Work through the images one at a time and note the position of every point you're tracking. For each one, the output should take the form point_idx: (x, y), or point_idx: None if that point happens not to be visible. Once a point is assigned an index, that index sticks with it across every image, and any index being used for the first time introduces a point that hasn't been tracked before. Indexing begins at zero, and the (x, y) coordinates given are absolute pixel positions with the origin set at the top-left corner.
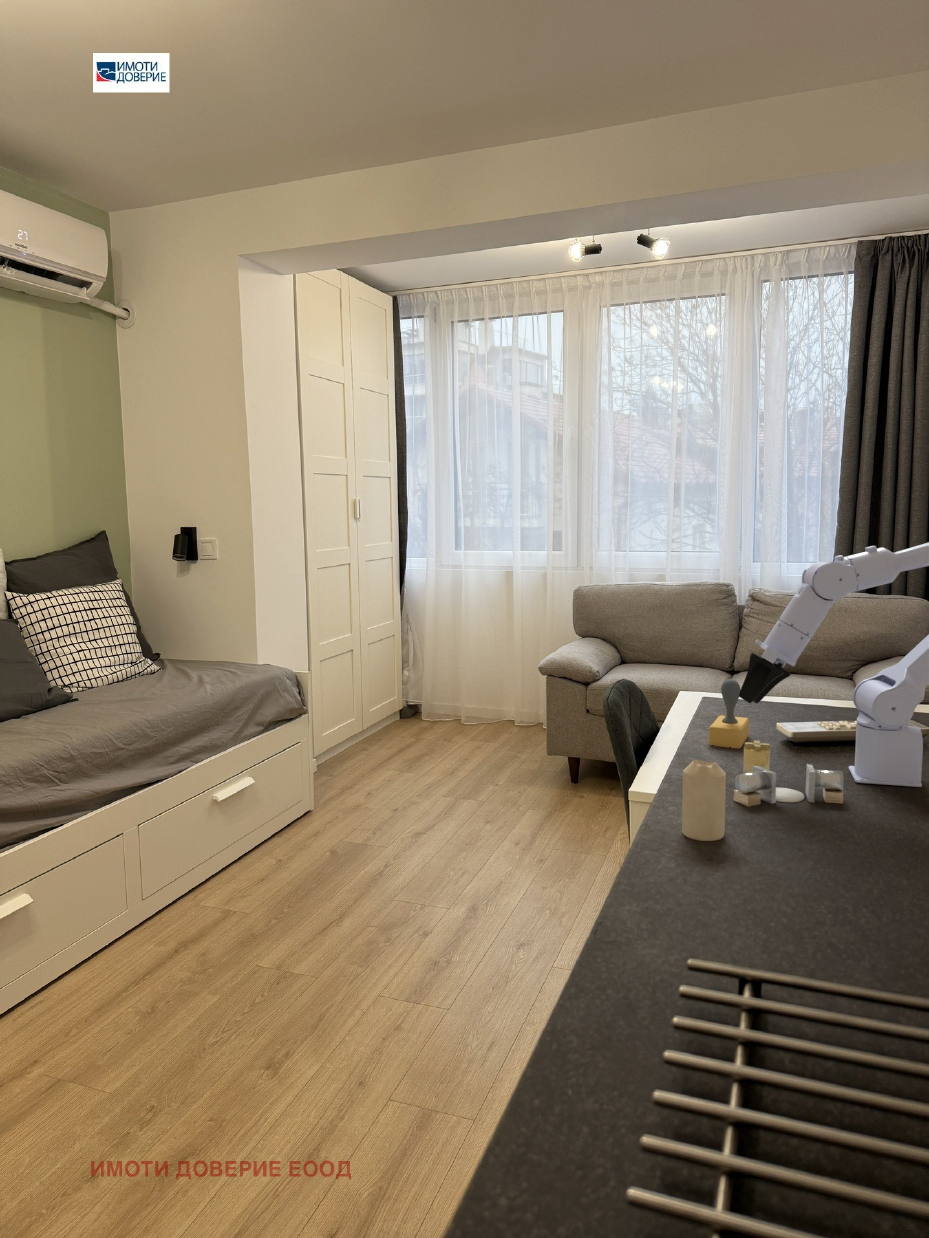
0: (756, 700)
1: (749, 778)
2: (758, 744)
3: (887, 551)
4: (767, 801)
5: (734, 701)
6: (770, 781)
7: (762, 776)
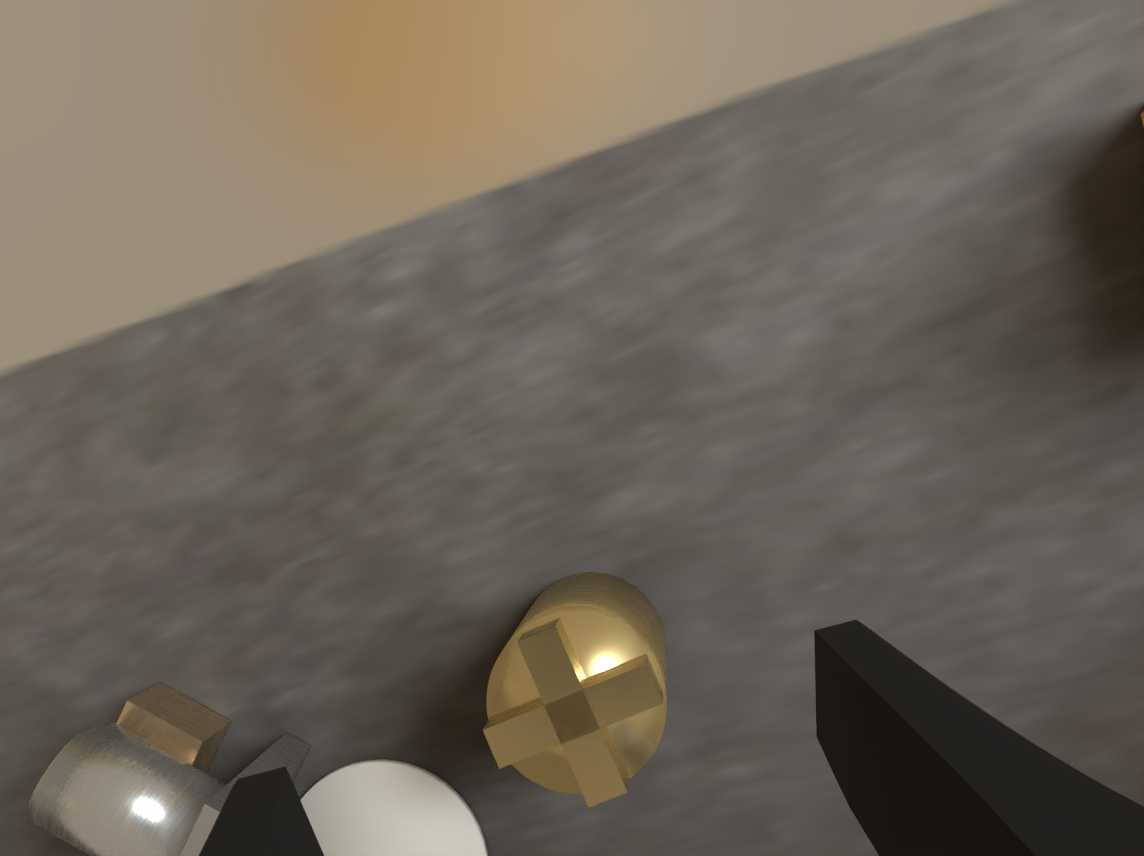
0: (830, 743)
1: (51, 832)
2: (554, 733)
3: None
4: None
5: None
6: None
7: None
